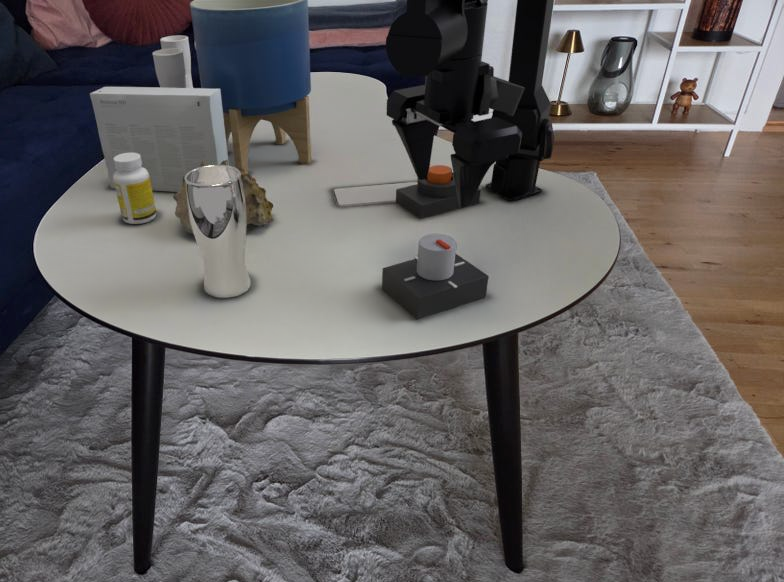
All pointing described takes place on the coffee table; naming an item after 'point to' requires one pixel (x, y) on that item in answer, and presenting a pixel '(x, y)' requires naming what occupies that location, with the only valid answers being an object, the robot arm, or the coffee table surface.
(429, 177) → the button
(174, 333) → the coffee table surface
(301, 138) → the planter
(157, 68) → the binoculars
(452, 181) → the button block
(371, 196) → the smartphone
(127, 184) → the supplement bottle
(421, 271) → the timer knob
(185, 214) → the seashell
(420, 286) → the timer panel
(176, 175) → the skincare box
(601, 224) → the coffee table surface
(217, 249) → the beer glass
